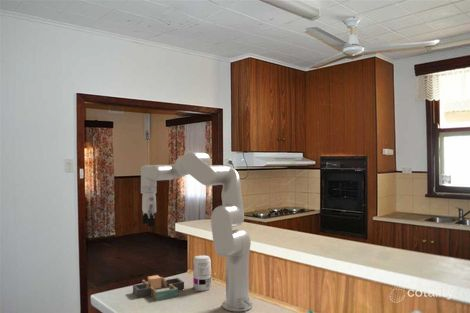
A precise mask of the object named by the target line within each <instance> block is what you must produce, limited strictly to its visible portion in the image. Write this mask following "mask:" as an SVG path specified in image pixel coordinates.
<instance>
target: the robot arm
mask: <svg viewBox="0 0 470 313" xmlns="http://www.w3.org/2000/svg"><path fill="white" fill-rule="evenodd" d="M211 164H212V159H211V156H210V155H209V154H208V153H206V152H203V151H187V152H185V153H184V154H183V155H182V156H181V157H178V158H177V159H176V160H175V163H172V164H146V165H141V167H140V194H142V197H141V198H142V199H141V202H142V203H141V204H142V205H141V210H142V224H143V225H144V224H146V225H147V227H148V228H149V227H155V216H156V213H157V196H156V194H157V181H171V180H176V179H180V178H182V177H185V176H188V175H190V176H191V177H193V179H194V180H196V181H197V182H199V183H200V184H202V185H203V186H207V187H209V186H210V187H211V186H219V185H220V186H222V190H221V201H222V202H221V204H222V205H219V206H217V207H215V208H214V209H213V210H212V212H211V216H210V225H211V234H212V241H213V242H212V243H213V248H214V250H215V252H216V254H217V255H218V256H219V257H222V258H226V260H225V300H224V301H223V302H222V304H221V305H222V308H223V309H224V310H226V311H229V312H235V313H236V312H237V313H238V312H247V311H248V310H251V309H252V308H253V307H254V306H253V305H254V304H253V301H251V300H250V294H249V292H250V291H249V290H250V288H249V287H250V284H249V283H250V282H249V280H250V279H249V274H250V273H249V271H250V268H249V266H250V264H249V262H250V261H249V260H250V252H251V243H252V242H251V241H252V240H251V237H250V234H249V233H248V232H247V231H246V230H244V229H240V228H239V229H238V228H236V229H233V228H235V227H238V226H240V225H242V224H243V223H244V220H245V211H244V203H243V196H242V184H241V182H242V181H241V177H240V175H239V173H238V171H237V170H236V169H235V168H234V167H232V166H229V165H224V164H223V165H221V164H217V165H216V164H214V165H213V164H212V165H211Z"/></svg>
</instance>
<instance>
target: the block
mask: <svg viewBox="0 0 470 313" xmlns="http://www.w3.org/2000/svg"><path fill="white" fill-rule="evenodd" d="M161 277H162V276H159V274H155V275H151V276H147V283H148V288H149V287H153V288H154V289H155V290H158V289H157V288H159V289H162V285H161Z"/></svg>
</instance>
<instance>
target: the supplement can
mask: <svg viewBox="0 0 470 313" xmlns="http://www.w3.org/2000/svg"><path fill="white" fill-rule="evenodd" d="M193 258H194V259H193V260H192V262H193V264H192V265H193V266H192V267H193V269H192V270H193V275H192V276H193V289H194V290H195V291H198V292H205V291H206V292H207V291H208V290H210V289H211V287H212V284H211V283H212V281H211V280H212V275H211V274H212V270H211V268H212V266H211V264H212V263H211V262H212V260H211V258H210V256H209V255H204V254H200V255H196V256H194V257H193Z"/></svg>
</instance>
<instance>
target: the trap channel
mask: <svg viewBox="0 0 470 313" xmlns="http://www.w3.org/2000/svg"><path fill="white" fill-rule="evenodd" d="M160 277H161V287H163V288H164V289H166V290H159V291H157V289H154V288H153V287H149V288H148V281H147V280H145V279H142V280H141V281H142V282H141V283H138V284H134V285H132V293H133V295H134V296H135V298H136V299H141V298H146V296H147V297H151V298H153V299H154V301H156V302H158V301H157V300H159V301H162V299H164V300H168V299H167V298H169V299H173V298H178V297H179V292H180V291H184V290H185V281H183V280H182V279H180V278H178V277H177V278H176V277H175V278H170V279H167V278H164V276H160ZM167 288H168V289H167ZM183 289H184V290H183ZM179 290H180V291H179Z"/></svg>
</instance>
